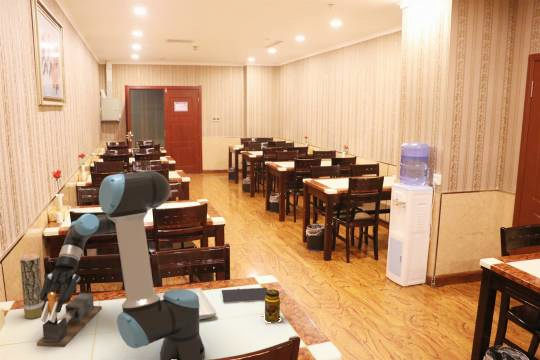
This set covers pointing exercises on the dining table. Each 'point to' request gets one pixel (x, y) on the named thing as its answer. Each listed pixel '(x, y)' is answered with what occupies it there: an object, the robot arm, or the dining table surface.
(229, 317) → the dining table surface
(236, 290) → the notebook
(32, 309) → the grey patterned cylinder
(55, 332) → the stand
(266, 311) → the condiment
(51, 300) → the wooden handle lever
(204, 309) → the square plate
